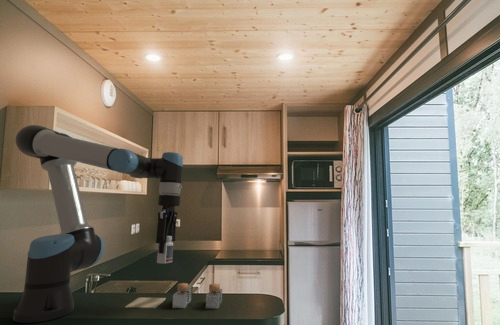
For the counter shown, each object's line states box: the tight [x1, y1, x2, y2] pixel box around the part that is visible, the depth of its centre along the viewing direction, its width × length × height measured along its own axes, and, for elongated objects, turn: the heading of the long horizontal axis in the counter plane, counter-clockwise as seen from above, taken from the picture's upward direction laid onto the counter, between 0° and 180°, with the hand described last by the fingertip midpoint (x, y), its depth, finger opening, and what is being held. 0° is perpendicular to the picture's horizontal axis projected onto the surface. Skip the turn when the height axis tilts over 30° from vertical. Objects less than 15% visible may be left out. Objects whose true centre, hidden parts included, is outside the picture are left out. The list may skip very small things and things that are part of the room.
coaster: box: [124, 296, 167, 310], centre depth 98 cm, size 10×10×1 cm
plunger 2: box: [208, 283, 221, 293], centre depth 97 cm, size 4×4×5 cm
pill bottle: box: [156, 236, 174, 264], centre depth 100 cm, size 5×5×9 cm
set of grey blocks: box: [172, 287, 223, 310], centre depth 97 cm, size 15×8×4 cm, turn 86°
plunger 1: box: [176, 282, 189, 292], centre depth 97 cm, size 4×4×5 cm
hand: (164, 261), depth 100 cm, fingers closed on pill bottle, 5 cm apart
